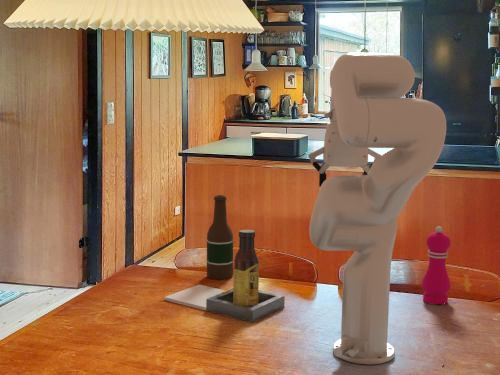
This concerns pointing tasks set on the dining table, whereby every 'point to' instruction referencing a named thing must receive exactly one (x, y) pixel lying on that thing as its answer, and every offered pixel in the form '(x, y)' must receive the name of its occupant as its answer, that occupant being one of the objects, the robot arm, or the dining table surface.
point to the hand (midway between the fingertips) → (343, 189)
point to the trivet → (194, 296)
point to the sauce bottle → (246, 271)
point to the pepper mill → (436, 269)
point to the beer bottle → (220, 243)
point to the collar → (251, 314)
